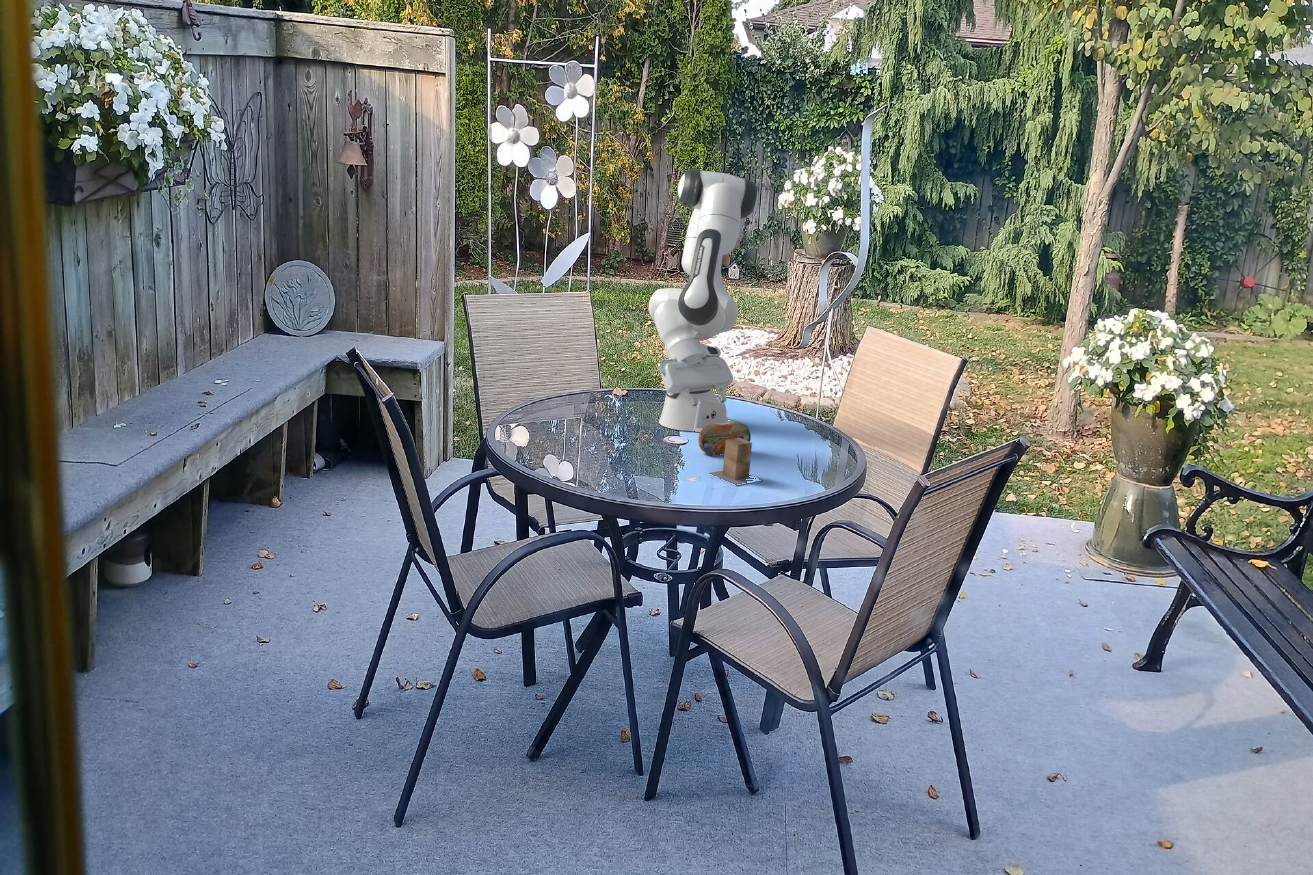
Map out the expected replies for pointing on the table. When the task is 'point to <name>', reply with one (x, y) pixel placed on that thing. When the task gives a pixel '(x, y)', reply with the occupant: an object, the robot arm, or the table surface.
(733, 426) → the tin
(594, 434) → the table surface
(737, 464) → the walnut block
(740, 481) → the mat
